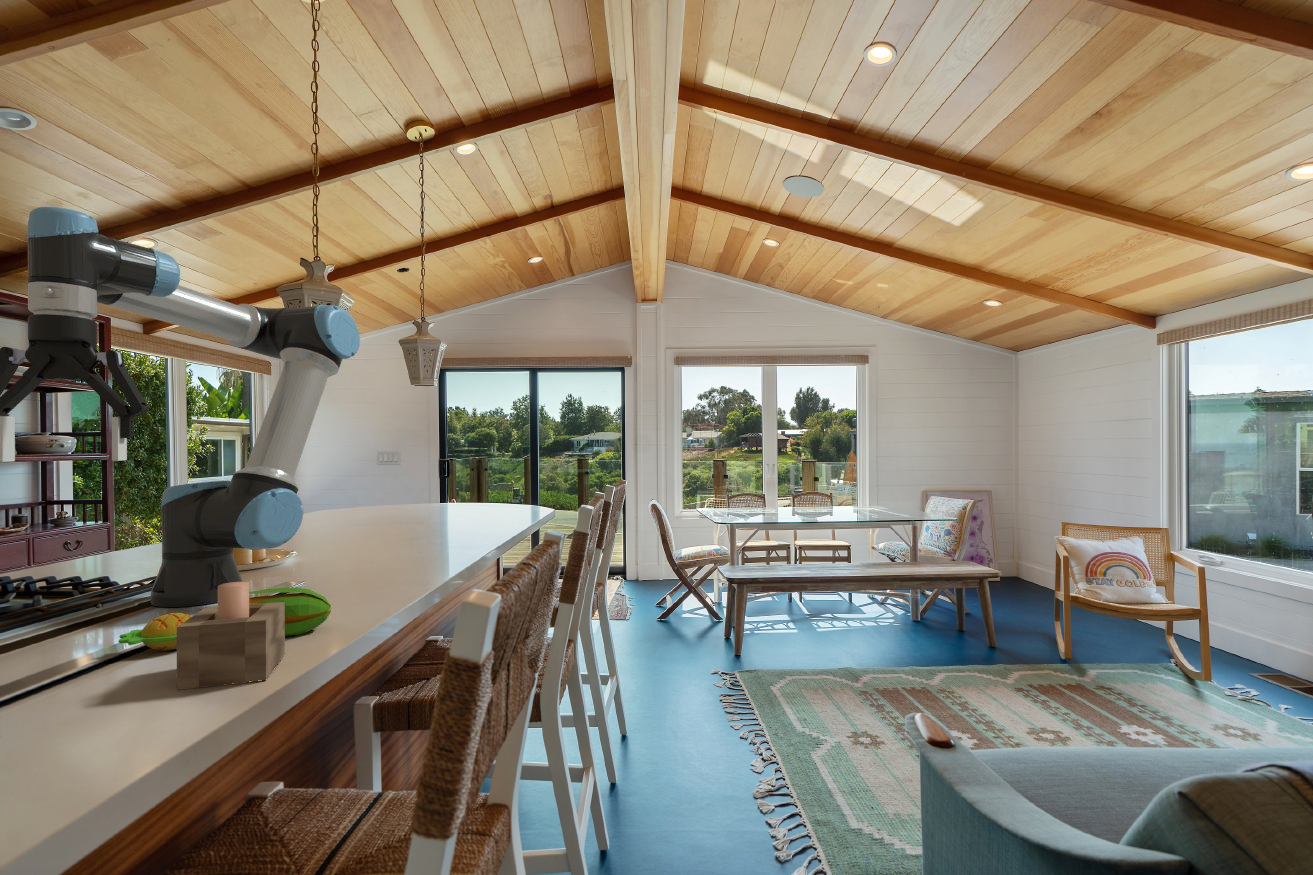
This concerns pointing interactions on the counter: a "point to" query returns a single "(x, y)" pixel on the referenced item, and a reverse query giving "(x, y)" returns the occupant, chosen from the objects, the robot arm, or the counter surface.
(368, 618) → the counter surface
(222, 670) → the socket block
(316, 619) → the corn
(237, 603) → the peg
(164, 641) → the toy pineapple
